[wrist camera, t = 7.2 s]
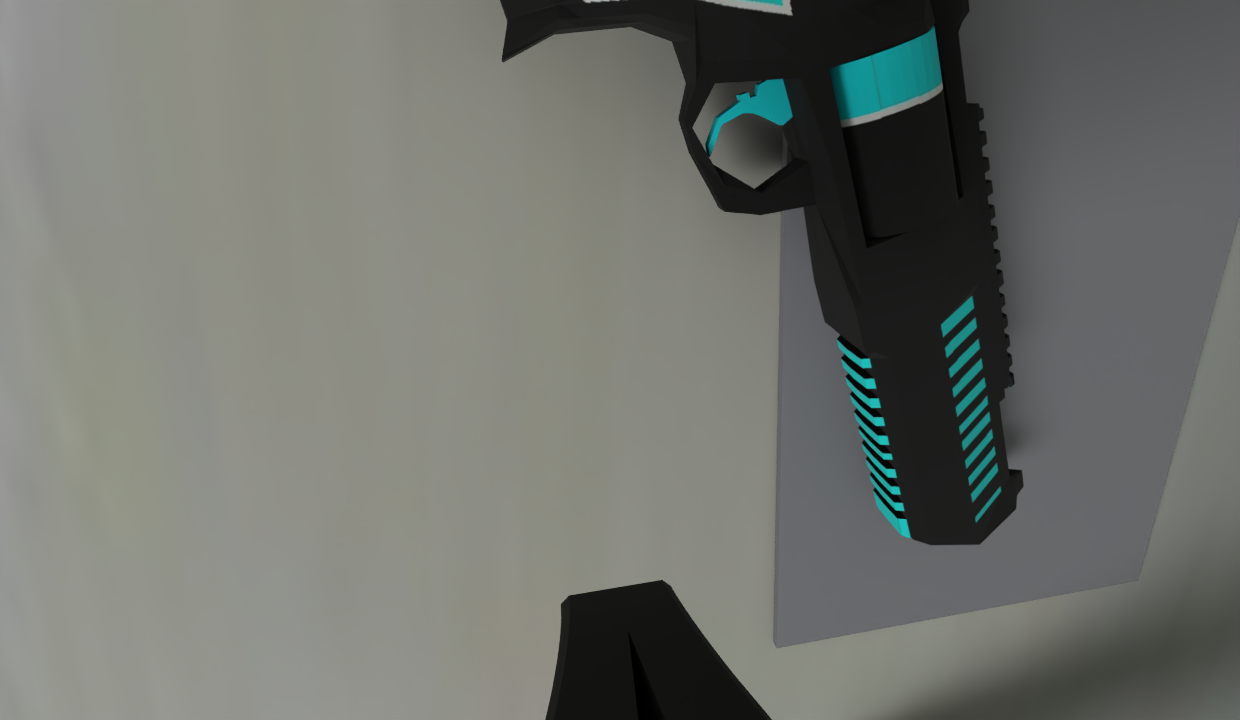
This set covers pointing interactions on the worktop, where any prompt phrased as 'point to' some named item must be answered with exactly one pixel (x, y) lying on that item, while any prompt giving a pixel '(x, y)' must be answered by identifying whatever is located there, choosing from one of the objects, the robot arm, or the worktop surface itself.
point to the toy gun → (864, 218)
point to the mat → (1038, 316)
